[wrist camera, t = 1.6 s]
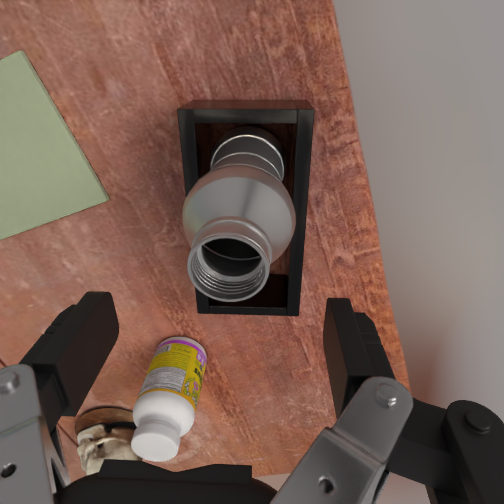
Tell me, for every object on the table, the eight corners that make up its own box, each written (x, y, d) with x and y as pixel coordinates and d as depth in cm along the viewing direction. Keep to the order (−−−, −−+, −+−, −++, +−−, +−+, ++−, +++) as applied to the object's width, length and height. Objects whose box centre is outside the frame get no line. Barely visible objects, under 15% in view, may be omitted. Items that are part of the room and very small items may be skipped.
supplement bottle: (204, 374, 48) (183, 472, 37) (155, 366, 48) (120, 462, 36) (211, 338, 45) (190, 433, 33) (158, 329, 44) (120, 422, 33)
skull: (83, 462, 57) (46, 489, 47) (95, 394, 60) (62, 406, 50) (156, 470, 57) (133, 499, 47) (165, 401, 59) (145, 415, 49)
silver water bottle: (212, 120, 32) (142, 199, 14) (288, 122, 32) (310, 205, 14) (215, 189, 35) (160, 322, 18) (283, 191, 35) (297, 328, 17)
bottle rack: (192, 99, 31) (176, 108, 26) (307, 99, 31) (314, 108, 25) (207, 280, 40) (197, 313, 35) (295, 282, 40) (298, 316, 35)
